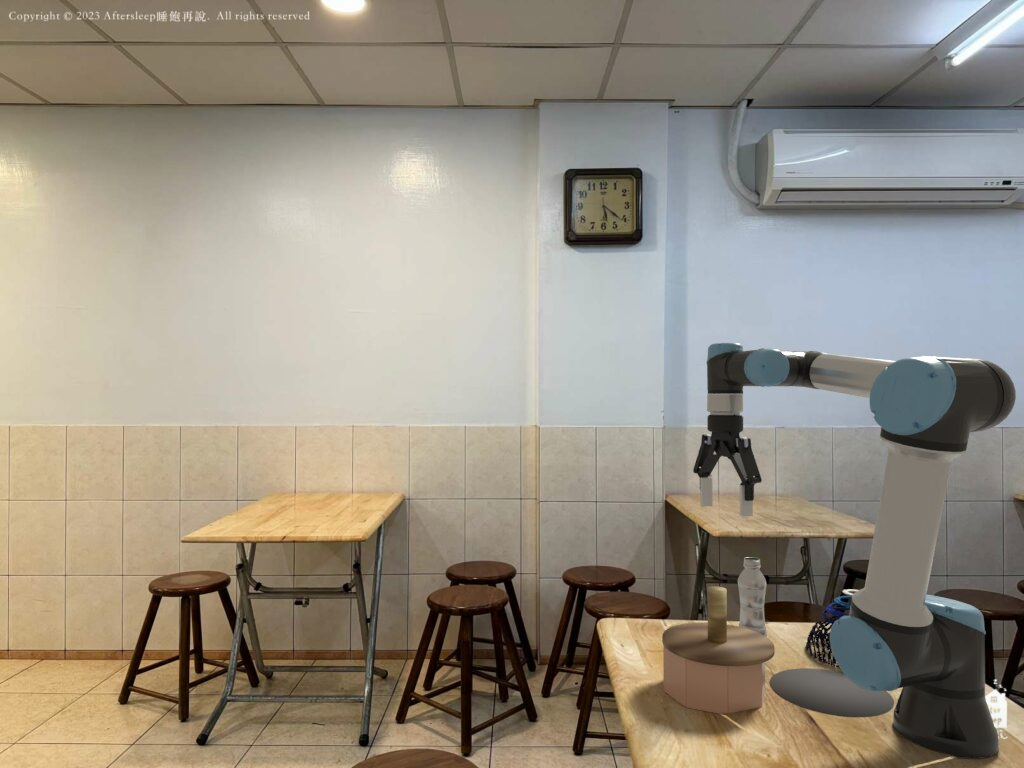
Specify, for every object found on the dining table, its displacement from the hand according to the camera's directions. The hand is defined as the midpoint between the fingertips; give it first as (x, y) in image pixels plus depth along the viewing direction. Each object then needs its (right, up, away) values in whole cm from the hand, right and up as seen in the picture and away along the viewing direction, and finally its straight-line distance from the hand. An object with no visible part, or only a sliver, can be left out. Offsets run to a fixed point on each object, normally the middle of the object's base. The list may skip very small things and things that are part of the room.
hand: (725, 511), depth 150 cm
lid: (-6, -23, -16) cm, 29 cm away
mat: (+15, -33, -16) cm, 39 cm away
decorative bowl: (+30, -33, +2) cm, 45 cm away
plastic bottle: (+9, -33, +9) cm, 36 cm away
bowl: (-7, -32, -16) cm, 37 cm away
